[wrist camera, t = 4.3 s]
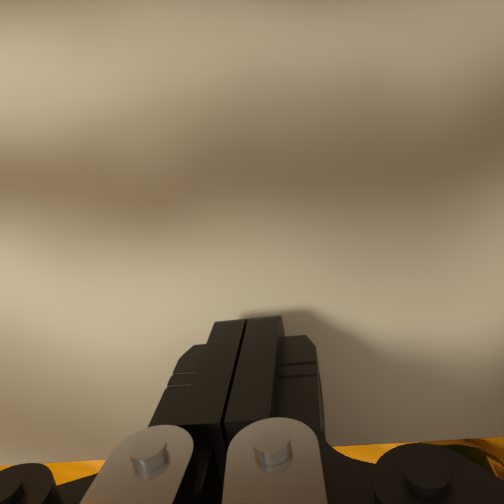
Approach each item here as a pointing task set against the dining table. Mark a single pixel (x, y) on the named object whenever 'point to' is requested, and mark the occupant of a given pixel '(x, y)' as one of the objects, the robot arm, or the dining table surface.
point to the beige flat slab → (250, 209)
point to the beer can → (474, 454)
